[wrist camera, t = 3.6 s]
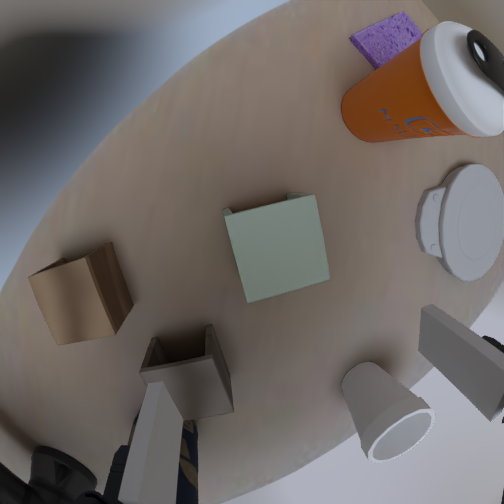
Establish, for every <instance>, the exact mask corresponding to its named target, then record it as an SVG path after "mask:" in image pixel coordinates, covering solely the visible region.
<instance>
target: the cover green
mask: <svg viewBox="0 0 504 504" xmlns="http://www.w3.org/2000/svg"><path fill="white" fill-rule="evenodd" d="M286 195H287V199H288V200H285V201H281V202H277V203H272V204H268V205H264V206H260V207H256V208H252V209H248V210H244V211H241V212H237V213H233V214H232V212H231V210H230V209H229V208H227V209H223V214H224V218H225V222H226V226H227V229H228V233H229V237H230V241H231V245H232V248H233V252H234V256H235V260H236V263H237V267H238V271H239V274H240V278H241V282H242V285H243V289H244V293H245V296H246V300H247V303H251V302H254V301H258V300H262V299H265V298H269V297H272V296H276V295H279V294H283V293H286V292H290V291H293V290H297V289H300V288H303V287H307V286H310V285H313V284H317V283H320V282H323V281H326V280H330V274H329V268H328V262H327V256H326V250H325V244H324V239H323V233H322V228H321V223H320V218H319V212H318V207H317V203H316V198H315V194H306V193H295V192H292V193H287V194H286Z"/></svg>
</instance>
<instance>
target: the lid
mask: <svg viewBox="0 0 504 504" xmlns="http://www.w3.org/2000/svg"><path fill="white" fill-rule="evenodd" d="M415 228H416V238H417V241H418V243H419V246H420V248H421V251H422V252H425V253H428V254H431V255H434V256H437V257H438V259H439V260H440V262H441V264H442V265H443V267H444V268H445V269H447V270H448V271H450V273H451V274H452V275H454V276H455V277H457V278H458V279H459V280H461V281H474V280H476V279H478V278H480V277H482V276H483V275H484V274H485V273H486V272H487V271H488V270H489V269H490V268H491V266H492V265H493V263H494V261H495V259H496V258H497V256H498V254H499V251H500V248H501V245H502V242H503V238H504V196H503V192H502V189H501V187H500V184H499V182H498V180H497V178H496V177H495V175H494V174H493V173H492V172H491V170H490V169H488V168H487V167H485V166H483V165H481V164H467V165H465V166H464V167H457V168H456V169H455V170H453V171H452V172H450V173H449V174H448V175H447V177H446V178H445V180H444V181H443V183H442V184H441V186H438V187H435V188H432V189H429V190H426V191H424V193H423V195H422V197H421V199H420V202H419V204H418V207H417V213H416V218H415Z"/></svg>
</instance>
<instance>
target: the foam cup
mask: <svg viewBox="0 0 504 504" xmlns="http://www.w3.org/2000/svg"><path fill="white" fill-rule="evenodd" d="M341 386H342V391H343V394H344V397H345V399H346V402H347V405H348V407H349V410H350V413H351V416H352V418H353V421H354V424H355V426H356V429H357V432H358V434H359V437H360V440H361V448H362V449H363V451H364V453H365V455H366V457H367V458H368V460H369V461H372V462H374V463H381V462H388V461H390V460H392V459H395V458H397V457H399V456H401V455H403V454H404V453H406V452H407V451H409V450H410V449H412V448H413V447H414V446H416V445H417V444H418V443H419V442H420V441H421V440H422V439H423V438H424V437H425V436H426V435H427V433H428V432H429V430H430V428H431V427H432V425H433V424H434V420H435V415H436V414H435V412H434V411H433V410H432V409H431V408H430V407H429V406H428V404H427V403H426V402H425V401H424V400H423V399H422V398H421V397H417V396H416V395H415V394H413V393H412V392H411V391H410V390H408V389H407V388H406V387H405V386H403V385H402V384H401V383H399V382H398V381H397V380H396V379H394V378H393V377H392V376H391V375H389V374H388V373H387V372H386V371H384V370H383V369H382V368H381V367H379V366H378V365H376V364H375V363H372V362H365V363H361V364H358V365H357V366H355V367H354V368H352V369H351V370H350V371H349V372H348V373H347V374H346V375H345V377H344V378H343V381H342V384H341Z"/></svg>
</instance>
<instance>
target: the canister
mask: <svg viewBox="0 0 504 504" xmlns="http://www.w3.org/2000/svg"><path fill="white" fill-rule="evenodd" d="M138 417H139V414H138V415H137V417H136V418H135V420H134V422H133V426H132V430H131V434H130V438H129V442H128V445H131V443H132V439H133V435H134V431H135V428H136V424H137V421H138ZM197 440H198V432H197V429H196V426H195V425H194V423H193V422H192V421H191V420H187V421H183V427H182V436H181V446H180V456H179V467H178V479H177V492H176V504H198V448H197Z"/></svg>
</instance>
